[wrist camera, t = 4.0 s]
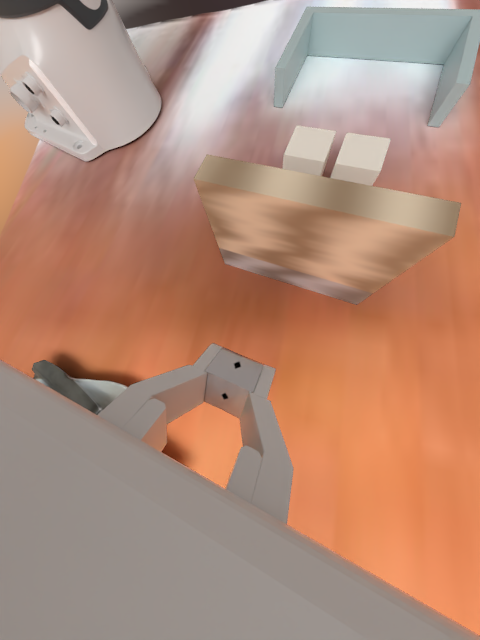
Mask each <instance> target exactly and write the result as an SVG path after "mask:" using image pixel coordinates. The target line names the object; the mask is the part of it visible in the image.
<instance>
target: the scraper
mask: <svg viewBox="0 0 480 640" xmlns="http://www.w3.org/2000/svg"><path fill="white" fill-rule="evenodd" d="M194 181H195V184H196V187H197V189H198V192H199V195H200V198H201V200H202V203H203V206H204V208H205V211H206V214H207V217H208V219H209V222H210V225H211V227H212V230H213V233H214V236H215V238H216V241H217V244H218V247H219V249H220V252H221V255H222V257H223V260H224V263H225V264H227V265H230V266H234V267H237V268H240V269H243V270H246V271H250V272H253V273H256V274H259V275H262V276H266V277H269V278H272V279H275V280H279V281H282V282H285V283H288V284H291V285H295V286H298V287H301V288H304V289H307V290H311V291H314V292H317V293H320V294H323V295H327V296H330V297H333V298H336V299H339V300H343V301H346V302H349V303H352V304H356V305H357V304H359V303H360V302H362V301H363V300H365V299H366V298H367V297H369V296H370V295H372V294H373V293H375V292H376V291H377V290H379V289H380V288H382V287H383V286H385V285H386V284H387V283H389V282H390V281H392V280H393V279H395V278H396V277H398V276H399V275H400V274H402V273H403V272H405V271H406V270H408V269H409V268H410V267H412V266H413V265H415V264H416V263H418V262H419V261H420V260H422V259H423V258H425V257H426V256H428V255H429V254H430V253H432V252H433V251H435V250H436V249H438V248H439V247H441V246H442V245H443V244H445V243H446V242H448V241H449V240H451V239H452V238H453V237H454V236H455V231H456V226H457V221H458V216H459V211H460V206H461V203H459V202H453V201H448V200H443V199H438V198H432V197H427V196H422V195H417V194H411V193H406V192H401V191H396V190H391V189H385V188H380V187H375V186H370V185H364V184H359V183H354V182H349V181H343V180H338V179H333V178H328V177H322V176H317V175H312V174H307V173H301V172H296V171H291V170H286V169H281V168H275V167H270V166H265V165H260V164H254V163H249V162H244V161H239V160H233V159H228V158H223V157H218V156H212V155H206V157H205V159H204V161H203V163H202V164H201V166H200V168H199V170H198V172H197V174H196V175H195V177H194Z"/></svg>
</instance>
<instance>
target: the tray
mask: <svg viewBox="0 0 480 640" xmlns="http://www.w3.org/2000/svg"><path fill="white" fill-rule="evenodd" d="M479 42H480V10H470V9H411V8H351V7H306V9H305V11H304V13H303V15H302V17H301V19H300V21H299V23H298V25H297V27H296V29H295V31H294V33H293V35H292V37H291V39H290V40H289V42H288V44H287V46H286V48H285V50H284V52H283V54H282V56H281V58H280V60H279V62H278V64H277V66H276V68H275V90H274V107H283V105H284V103H285V101H286V99H287V97H288V95H289V93H290V90H291V88H292V86H293V84H294V82H295V80H296V78H297V76H298V74H299V72H300V69H301V67H302V65H303V63H304V61H305V59H306V57H307V55H311V56H326V57H341V58H355V59H370V60H385V61H400V62H415V63H430V64H444V67H443V70H442V74H441V78H440V81H439V85H438V89H437V92H436V96H435V100H434V103H433V107H432V111H431V114H430V118H429V122H428V125H427V126H433V127H439V126H440V125H441V124H442V122H443V121H444V120H445V118H446V117H447V115H448V114H449V113H450V111H451V110H452V108H453V107H454V106H455V104H456V103H457V102H458V100H459V99H460V97H461V96H462V95H463V93H464V92H465V90H466V89H467V88H468V86H469V85H470V82H471V77H472V73H473V69H474V64H475V60H476V55H477V51H478V47H479Z"/></svg>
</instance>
